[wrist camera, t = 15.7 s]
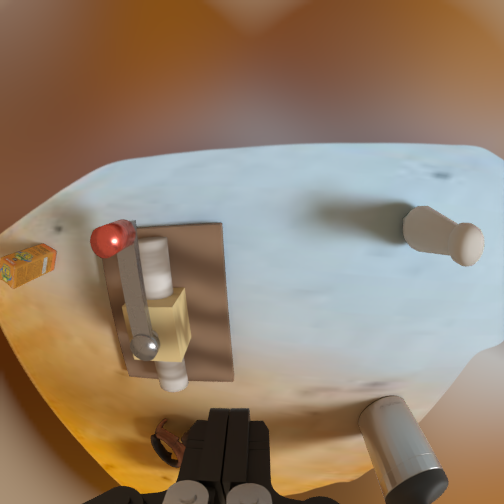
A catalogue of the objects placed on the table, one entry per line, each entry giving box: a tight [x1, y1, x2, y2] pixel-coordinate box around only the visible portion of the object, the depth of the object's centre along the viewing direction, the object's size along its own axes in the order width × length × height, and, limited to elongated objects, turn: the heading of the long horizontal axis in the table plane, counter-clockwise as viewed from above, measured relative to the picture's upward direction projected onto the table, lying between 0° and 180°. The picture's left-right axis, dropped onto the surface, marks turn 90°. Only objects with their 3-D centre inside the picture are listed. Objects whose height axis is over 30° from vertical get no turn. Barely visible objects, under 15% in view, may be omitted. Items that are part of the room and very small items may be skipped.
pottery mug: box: [151, 419, 189, 468], centre depth 42 cm, size 12×10×8 cm
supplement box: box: [0, 244, 57, 289], centre depth 32 cm, size 3×4×10 cm
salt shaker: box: [403, 206, 484, 266], centre depth 29 cm, size 6×6×13 cm
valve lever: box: [90, 219, 160, 361], centre depth 26 cm, size 15×3×5 cm, turn 3°
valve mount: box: [102, 223, 234, 392], centre depth 34 cm, size 22×16×9 cm
